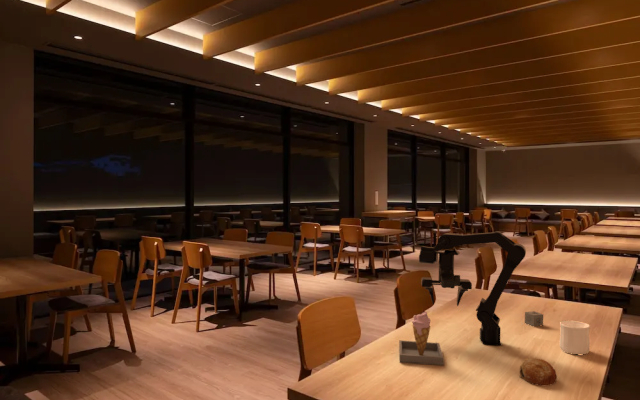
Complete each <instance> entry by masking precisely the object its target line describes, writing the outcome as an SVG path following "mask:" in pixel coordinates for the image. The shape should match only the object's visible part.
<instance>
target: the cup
mask: <svg viewBox="0 0 640 400" xmlns="http://www.w3.org/2000/svg"><path fill="white" fill-rule="evenodd" d="M559 327H560V328H559V329H560V330H559V331H560V332H559V333H560V334H559V348H560V350H561V351H562V350H563V351H562V352H564V351H565V352H564V353H566V352H568V353H572V354H586V353H587V354H588V353H589V352H590V348H591V346H590V345H591V342H590V328H591V326H590V324H589V323H586V322H581V321H578V320H572V319H571V320H568V319H567V320H562V321H560V322H559ZM568 353H567V354H568ZM572 354H571V355H572ZM587 354H586V355H587Z"/></svg>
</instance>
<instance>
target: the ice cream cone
mask: <svg viewBox="0 0 640 400" xmlns="http://www.w3.org/2000/svg"><path fill="white" fill-rule="evenodd" d="M411 323H412V330H413V335H414V340H415V341H416V345H417V348H418V352H419V355H423V354H424V350H425V347H426V344H427V342H428V339H429V335H430V330H431V326H430V325H431V319H430V317H429V315H428V312H427V311H423V312H422V313H419V314H415V315H413V320H412V321H411Z"/></svg>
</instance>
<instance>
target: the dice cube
mask: <svg viewBox="0 0 640 400" xmlns="http://www.w3.org/2000/svg"><path fill="white" fill-rule="evenodd" d="M525 323H526V325H528V324H529V325H528V326H530V325H531V326H530V327H533V326H537V327H541V326H540V325H543V326H544V314H543V313H540V312H537V311H535V310H531V311H525V312H524V324H525Z"/></svg>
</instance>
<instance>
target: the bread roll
mask: <svg viewBox="0 0 640 400" xmlns="http://www.w3.org/2000/svg"><path fill="white" fill-rule="evenodd" d="M519 377H520V378H521V379H523V380H524V381H526V382H528V383H529V382H530V383H529V384H532V383H533V384H532V385H535V384H538V385H537V386H542V385H546V386H551V385H550V384H552V385H554V384H555V383H556V381H557V379H558V375H557V372H556V369H554V367H553V365H551V363H549V362H548V361H546V360H544V359H542V358H538V357H537V358H536V357H529V358H526V359H524V361H523V362H522V363H521V365H520V366H519Z"/></svg>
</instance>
